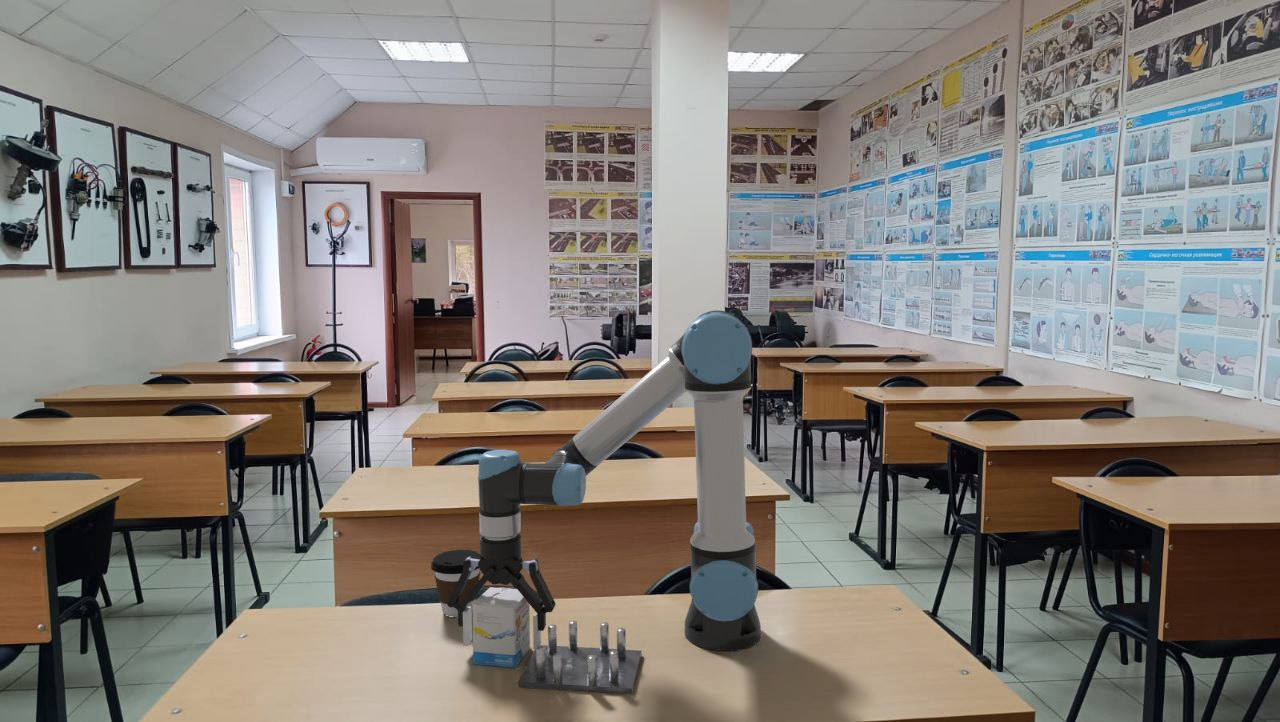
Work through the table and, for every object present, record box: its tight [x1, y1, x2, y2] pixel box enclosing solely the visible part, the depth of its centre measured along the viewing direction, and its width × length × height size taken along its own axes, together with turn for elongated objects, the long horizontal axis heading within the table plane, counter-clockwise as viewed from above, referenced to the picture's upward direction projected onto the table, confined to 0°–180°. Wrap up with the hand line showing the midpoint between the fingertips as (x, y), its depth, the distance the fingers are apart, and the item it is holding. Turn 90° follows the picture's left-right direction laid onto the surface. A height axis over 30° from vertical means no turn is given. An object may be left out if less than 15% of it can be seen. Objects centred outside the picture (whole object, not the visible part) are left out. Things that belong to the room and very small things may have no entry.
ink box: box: [472, 586, 531, 669], centre depth 147 cm, size 9×8×12 cm
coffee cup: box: [430, 549, 481, 617], centre depth 166 cm, size 11×11×12 cm
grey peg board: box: [517, 620, 642, 695], centre depth 141 cm, size 20×15×6 cm
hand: (502, 644), depth 147 cm, fingers open, 13 cm apart
